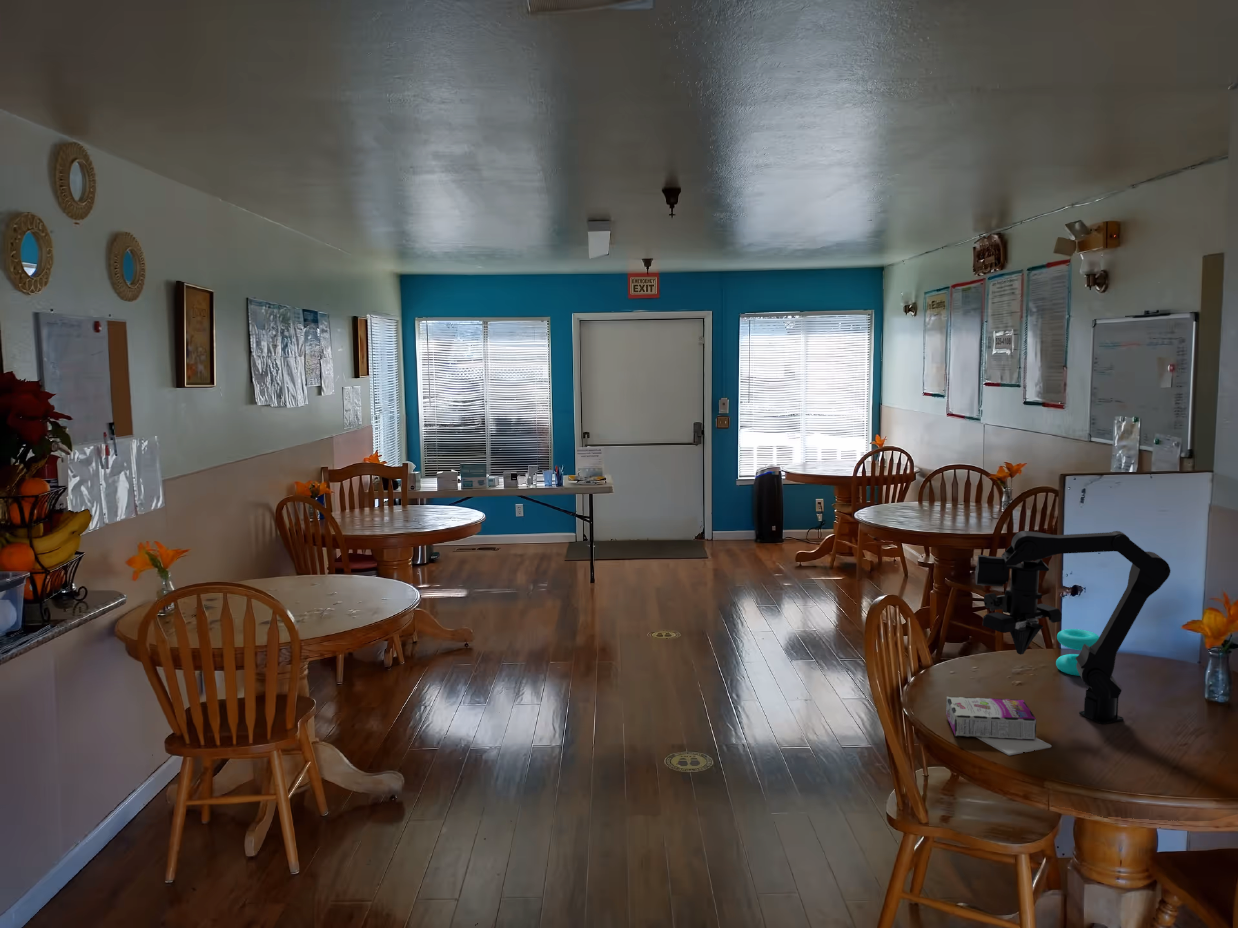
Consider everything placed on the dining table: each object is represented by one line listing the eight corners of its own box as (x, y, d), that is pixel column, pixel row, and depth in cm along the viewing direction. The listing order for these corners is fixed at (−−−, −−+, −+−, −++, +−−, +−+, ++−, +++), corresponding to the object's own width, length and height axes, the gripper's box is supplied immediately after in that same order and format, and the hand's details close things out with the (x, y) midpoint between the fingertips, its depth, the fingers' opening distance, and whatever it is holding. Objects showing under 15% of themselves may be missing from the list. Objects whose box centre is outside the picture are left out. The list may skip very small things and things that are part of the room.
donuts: (1050, 627, 235) (1088, 627, 235) (1048, 664, 236) (1087, 664, 236) (1068, 639, 225) (1108, 638, 225) (1067, 678, 226) (1107, 677, 226)
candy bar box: (1023, 720, 199) (945, 716, 203) (1024, 699, 199) (946, 694, 202) (1036, 742, 189) (953, 736, 192) (1037, 719, 188) (954, 714, 191)
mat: (1008, 725, 198) (1008, 723, 198) (1051, 747, 187) (1051, 745, 187) (968, 732, 195) (968, 731, 194) (1008, 755, 183) (1008, 753, 183)
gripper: (1024, 574, 214) (1021, 636, 217) (965, 583, 207) (962, 648, 209) (1065, 585, 204) (1060, 651, 206) (1004, 596, 197) (1000, 664, 199)
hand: (1020, 653), depth 205 cm, fingers closed
